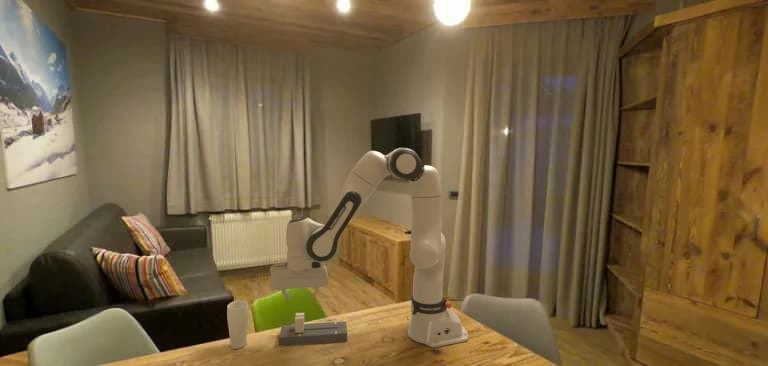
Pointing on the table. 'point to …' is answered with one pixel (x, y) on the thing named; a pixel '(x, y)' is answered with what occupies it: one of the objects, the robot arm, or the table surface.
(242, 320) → the drinking glass
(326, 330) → the console
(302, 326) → the fader tab
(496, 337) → the table surface
